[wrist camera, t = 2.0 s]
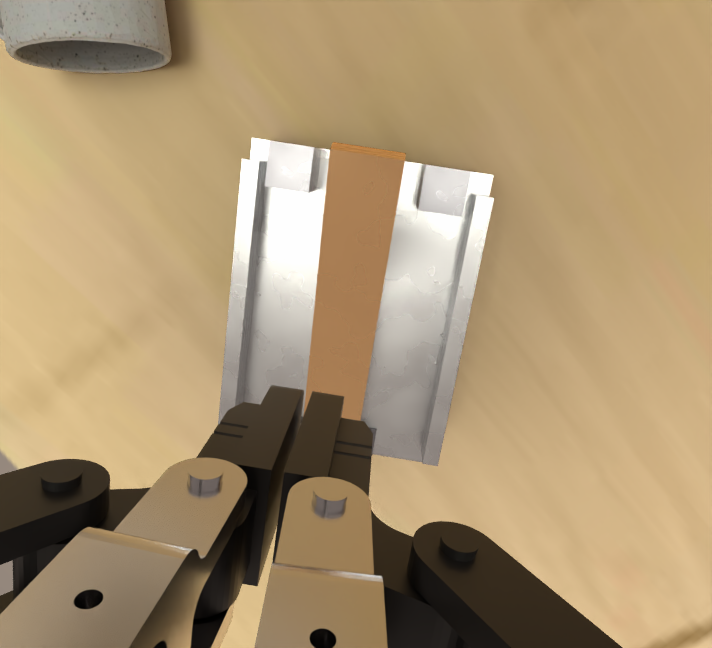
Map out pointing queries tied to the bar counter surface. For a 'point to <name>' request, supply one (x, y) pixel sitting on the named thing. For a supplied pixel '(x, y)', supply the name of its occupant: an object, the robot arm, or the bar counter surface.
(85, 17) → the ceramic mug
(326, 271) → the strap
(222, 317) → the bar counter surface
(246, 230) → the block
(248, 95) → the bar counter surface
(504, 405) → the bar counter surface
